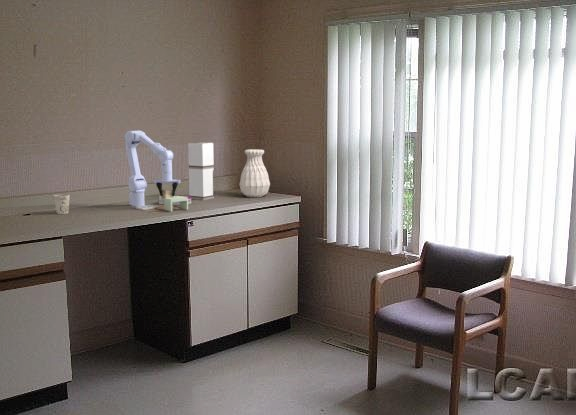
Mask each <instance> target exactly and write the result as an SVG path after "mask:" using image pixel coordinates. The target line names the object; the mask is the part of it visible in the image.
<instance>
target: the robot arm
mask: <svg viewBox="0 0 576 415" xmlns="http://www.w3.org/2000/svg"><path fill="white" fill-rule="evenodd" d="M124 140H125V145H124V146H125V150H126V156H127V161H128V166H129V171H130V175H131V176H130V177H129V178H128V186H127V187H128V189H129V191H130V193H129V195H128V202H129V206H132V207H136V206H145V205H146V202H145V201H146V200H145V199H146V198H145V192H146V189H147V187H148V182H147V181H146V179H145V176H143V175H142V174H141V173H142V172H141V169H140V162H139V158H138V157H139V156H138V153H137V146H138V145H139V144H140V143H143V144H145V145H146V146H148V147H149V148H150V150H151V152H153V154H155V155H156V156H158V158H159V160H160V164H161V179H153V184H155V185H156V188H157V189H158V193H159V195H160V196H162V190H163V184H172V187H171V188H172V190H173V196H176V191H177V187H178V185H179V184H181V179H173V165H172V164H173V160H174V159H175V158H174V157H175V154H174V152H173V151H172V150H171V149H169V150H168V149H167V148H166V147H164V146H163V145H161V143H160V142H154V141H153V140H152V139H151V138H150V137H149V136H148V135H146V132H144V131H143V130H141V129H140V130H128V131H126V133H125V134H124Z"/></svg>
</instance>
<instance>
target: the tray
mask: <svg viewBox="0 0 576 415" xmlns="http://www.w3.org/2000/svg"><path fill="white" fill-rule="evenodd" d="M155 206H156V205H150V204H148V205H147V204H145V206H135V208H136V209H135V210H137V209H140V210H139V211H141V210H151V209H155V208H156V207H155Z"/></svg>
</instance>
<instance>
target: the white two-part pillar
mask: <svg viewBox="0 0 576 415" xmlns="http://www.w3.org/2000/svg"><path fill="white" fill-rule="evenodd" d="M187 147H188V148H187V149H188V150H187V151H188V152H187V153H188V154H187V155H188V190H189V193H188V196H191V200H199V201H206V200H207V201H208V200H212V199H215V195H214V178H213V176H214V173H213V172H214V170H215V169H214V168H215V167H214V166H215V163H214V162H215V161H214V153H215V152H214V142H201V141H200V142H197V143H193V142H188V144H187Z"/></svg>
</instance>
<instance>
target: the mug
mask: <svg viewBox="0 0 576 415" xmlns="http://www.w3.org/2000/svg"><path fill="white" fill-rule="evenodd" d="M70 196H71V195H70V194H69V193H58V194H54V195H53V199H54V201H53V202H54V207H55V211H56V214H57V215H66V214H69V211H70V210H69V209H70V200H71V199H70Z"/></svg>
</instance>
